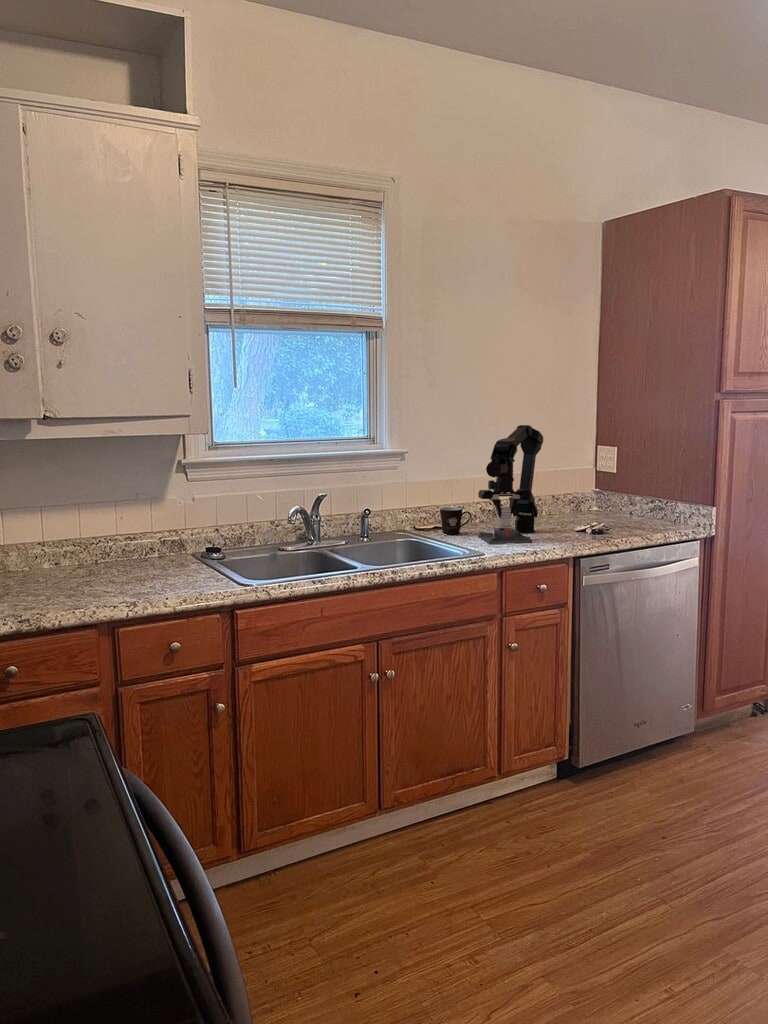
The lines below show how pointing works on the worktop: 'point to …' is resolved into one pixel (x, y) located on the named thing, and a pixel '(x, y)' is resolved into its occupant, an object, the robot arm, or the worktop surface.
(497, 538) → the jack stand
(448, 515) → the coffee mug
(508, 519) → the column
